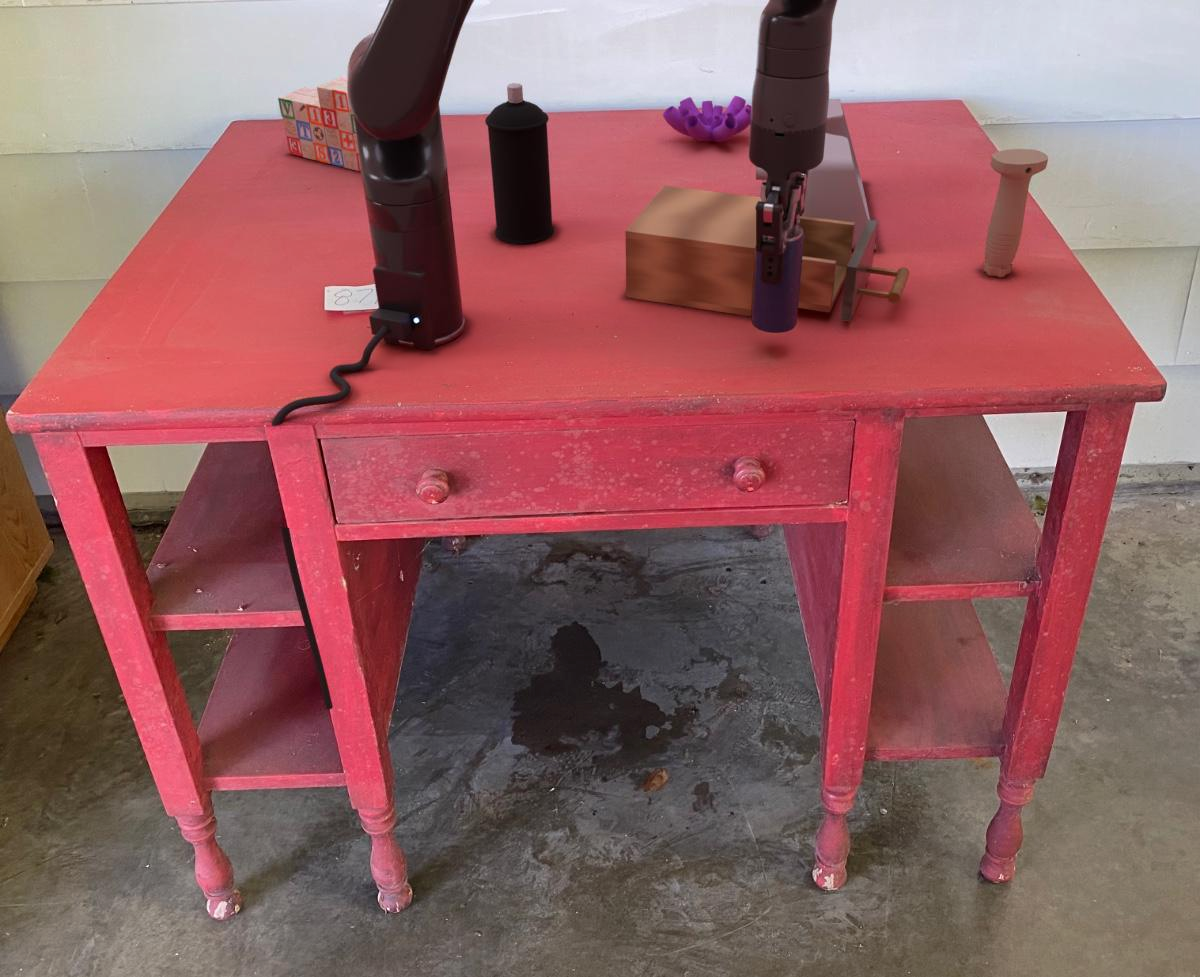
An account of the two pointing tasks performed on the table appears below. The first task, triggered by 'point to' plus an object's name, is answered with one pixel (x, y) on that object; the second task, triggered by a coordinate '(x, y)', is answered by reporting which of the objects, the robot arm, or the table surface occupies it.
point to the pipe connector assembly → (709, 119)
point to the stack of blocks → (321, 124)
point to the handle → (1009, 206)
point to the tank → (835, 178)
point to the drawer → (841, 266)
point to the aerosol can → (520, 170)
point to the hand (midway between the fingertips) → (777, 270)
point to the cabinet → (694, 250)
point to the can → (779, 289)
